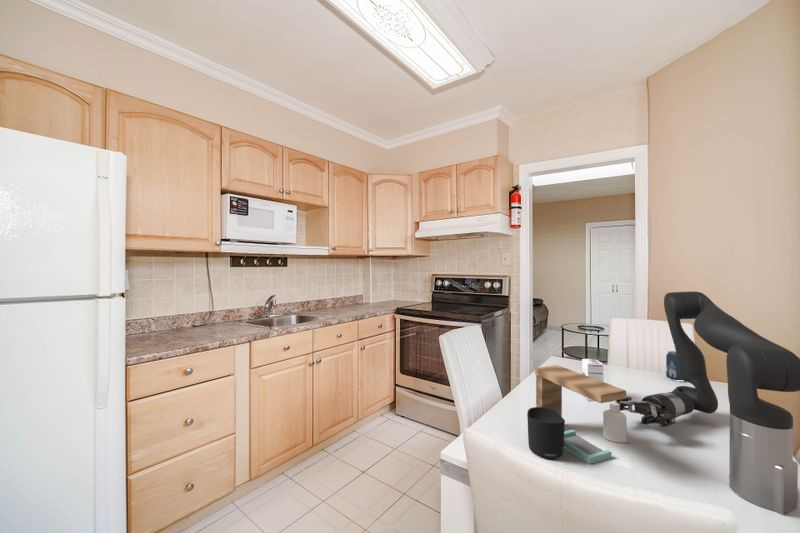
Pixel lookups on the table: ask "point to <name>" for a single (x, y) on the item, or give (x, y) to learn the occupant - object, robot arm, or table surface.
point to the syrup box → (592, 370)
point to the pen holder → (545, 432)
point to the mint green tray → (584, 448)
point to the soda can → (672, 366)
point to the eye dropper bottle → (615, 424)
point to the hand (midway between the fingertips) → (627, 414)
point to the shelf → (570, 387)
